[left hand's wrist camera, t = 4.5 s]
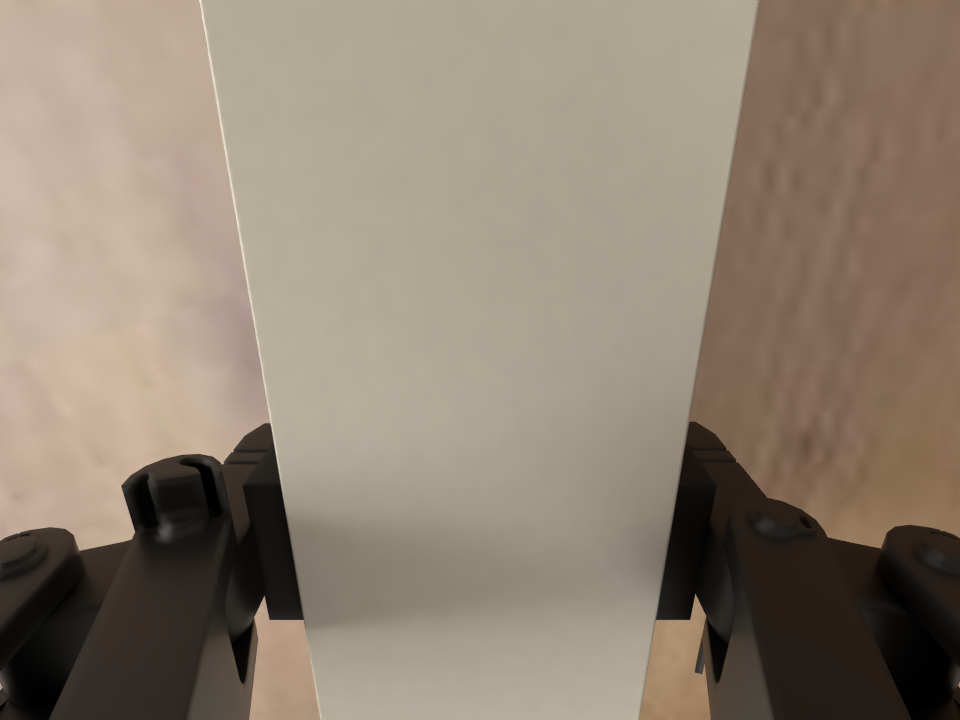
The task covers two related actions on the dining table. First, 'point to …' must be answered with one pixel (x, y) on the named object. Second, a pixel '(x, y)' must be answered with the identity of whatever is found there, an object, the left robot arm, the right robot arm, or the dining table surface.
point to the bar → (479, 326)
